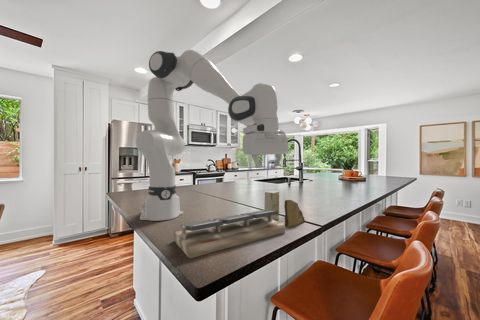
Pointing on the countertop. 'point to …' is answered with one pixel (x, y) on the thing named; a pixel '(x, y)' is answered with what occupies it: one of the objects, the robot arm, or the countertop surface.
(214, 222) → the panel
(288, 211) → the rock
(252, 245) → the countertop surface
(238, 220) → the panel
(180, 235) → the switch panel
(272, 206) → the skincare box
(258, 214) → the rocker
